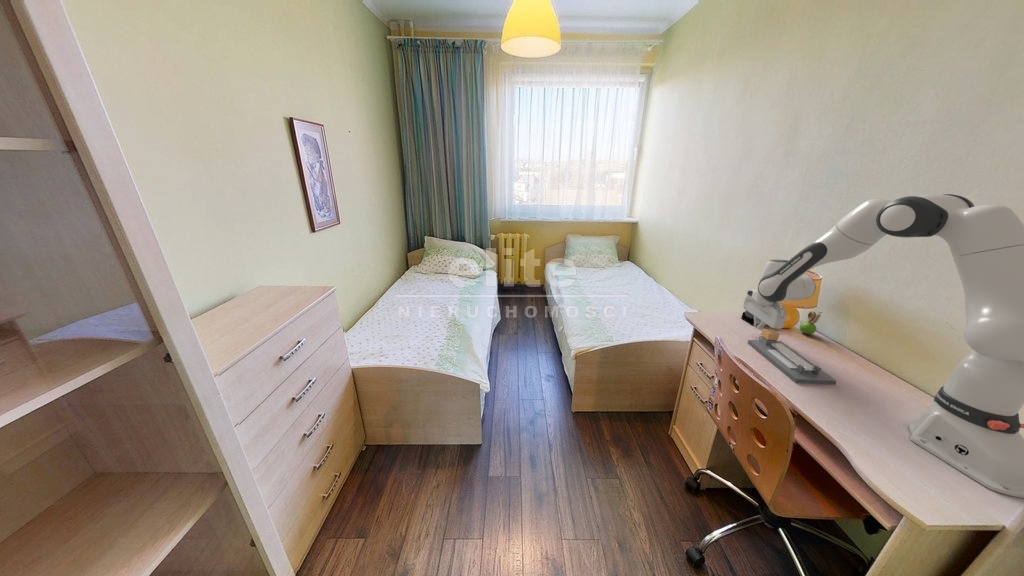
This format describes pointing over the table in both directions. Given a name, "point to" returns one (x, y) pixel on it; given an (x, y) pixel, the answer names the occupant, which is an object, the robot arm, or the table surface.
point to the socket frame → (790, 363)
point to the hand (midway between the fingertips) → (757, 328)
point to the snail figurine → (810, 323)
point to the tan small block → (770, 334)
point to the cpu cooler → (749, 317)
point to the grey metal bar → (793, 357)
